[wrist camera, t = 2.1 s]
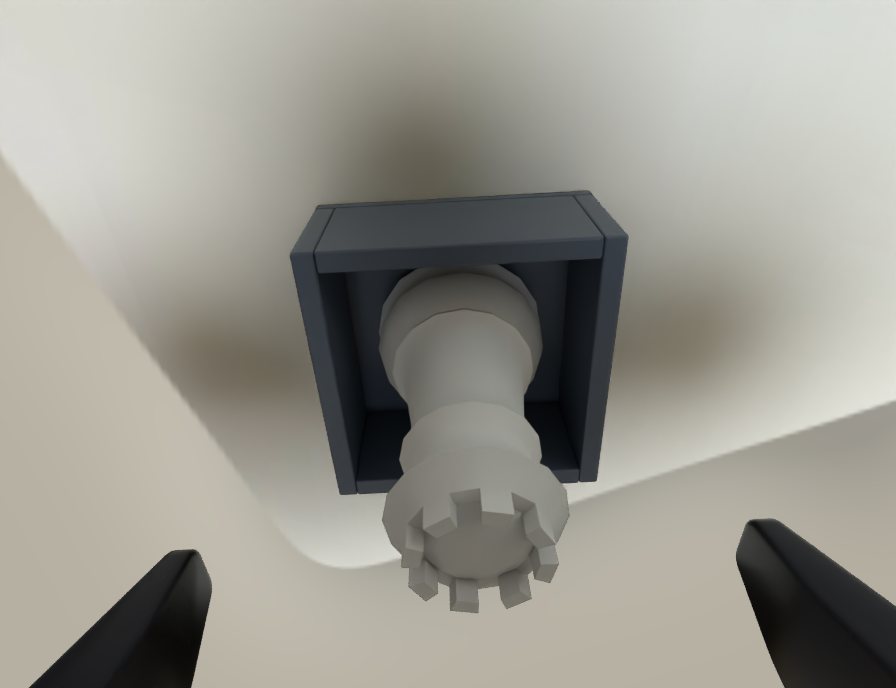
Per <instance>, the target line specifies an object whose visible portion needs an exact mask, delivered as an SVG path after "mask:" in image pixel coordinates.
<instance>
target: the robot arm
mask: <svg viewBox="0 0 896 688" xmlns="http://www.w3.org/2000/svg"><path fill="white" fill-rule="evenodd" d="M736 561H737V565H738V569H739V571H740V574H741V577H742V580H743V582H744V585H745V588H746V591H747V594H748V596H749V599H750V602H751V604H752V607H753V610H754V612H755V616H756V618H757V621H758V624H759V627H760V630H761V632H762V635H763V637H764V641H765V643H766V646H767V649H768V651H769V654H770V656H771V659H772V661H773V664H774V666H775V668H776V670H777V673H778V675H779V677H780V679H781V681H782V683H783V685H784V687H785V688H896V606H895V605H893V604H892V603H891V602H889V601H888V600H886V599H885V598H884V597H882V596H881V595H880V594H878V593H877V592H875V591H874V590H873V589H871V588H870V587H869V586H867V585H866V584H865V583H863V582H862V581H860V580H859V579H858V578H856V577H855V576H854V575H852V574H851V573H849V572H848V571H847V570H845V569H844V568H843V567H841V566H840V565H839V564H837V563H836V562H834V561H833V560H832V559H830V558H829V557H828V556H826V555H825V554H824V553H822V552H821V551H819V550H818V549H817V548H815V547H814V546H813V545H811V544H810V543H809V542H807V541H806V540H804V539H803V538H802V537H800V536H799V535H797V534H796V533H795V532H793V531H792V530H791V529H789V528H788V527H787V526H785V525H784V524H782V523H781V522H780V521H778V520H776V519H770V518H769V519H753V520H750V521H748V522H747V523H746V525H745V528H744V531H743V534H742V537H741V540H740V543H739V545H738V548H737V552H736ZM211 593H212V583H211V579H210V576H209V574H208V572H207V569H206V567H205V565H204V562H203V560H202V558H201V555H200V554H199V552H198V551H196V550H193V549H192V550H175V551H171V552H170V553H168V554H167V555H165V556H164V557H163V558H162V559H161V560H160V561H159V562H158V563H157V564H156V565H155V566H154V567H153V568H152V569H151V570H150V571H149V572H148V573H147V574H146V575H145V576H144V577H143V578H142V579H141V580H140V581H139V582H138V583H136V585H134V586H133V587H132V588H131V589H130V590H129V591H128V592H127V593H126V594H125V595H124V596H123V597H122V598H121V599H120V600H119V601H118V602H117V603H116V604H115V605H114V606H113V607H112V608H111V609H110V610H109V611H108V612H107V613H106V614H105V615H103V616H102V617H101V618H100V619H99V621H97V622H96V623H95V624H94V625H93V626H92V627H91V628H90V629H89V630H88V631H87V632H86V633H85V634H84V635H83V636H82V637H81V638H80V639H79V640H78V641H77V642H76V643H75V644H74V645H73V646H72V647H70V648H69V649H68V650H67V651H66V652H65V653H64V654H63V655H62V656H61V657H60V658H59V659H58V660H57V661H56V662H55V663H54V664H53V665H52V666H51V667H50V668H49V669H48V670H47V671H46V672H45V673H44V674H43V675H42V676H41V677H40V678H38V679H37V680H36V681H35V682H34V683H33V684H32V685H31V686H30V687H29V688H191V686H192V681H193V677H194V673H195V668H196V664H197V659H198V654H199V649H200V645H201V641H202V635H203V631H204V627H205V622H206V617H207V613H208V608H209V603H210V599H211Z"/></svg>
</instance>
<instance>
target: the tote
mask: <svg viewBox="0 0 896 688" xmlns="http://www.w3.org/2000/svg"><path fill="white" fill-rule="evenodd" d="M627 245H628V235H627V234H626V233H625V232H624V230H623V229H622V228H621V227H620V226H619V225H618V224H617V222H616V221H615V220H614V219H613V218H612V217H611V216H610V214H609V213H608V212H607V211H606V210H605V209H604V208H603V206H602V205H601V204H600V203H599V202H598V201H597V200H596V198H595V197H594V196H593V195H592V193H591V192H590V191H578V192H559V193H541V194H522V195H503V196H485V197H466V198H447V199H429V200H410V201H392V202H373V203H354V204H336V205H318V206H317V207H316V210H315V212H314V213H313V215H312V217H311V218H310V220H309V222H308V224H307V225H306V227H305V229H304V230H303V232H302V234H301V236H300V237H299V239H298V241H297V242H296V244H295V246H294V248H293V249H292V251H291V253H290V259H291V264H292V269H293V274H294V278H295V283H296V288H297V293H298V298H299V302H300V307H301V312H302V317H303V321H304V326H305V331H306V336H307V341H308V345H309V350H310V355H311V360H312V364H313V369H314V374H315V379H316V383H317V388H318V393H319V398H320V403H321V407H322V412H323V417H324V422H325V426H326V431H327V436H328V441H329V445H330V450H331V455H332V460H333V465H334V469H335V474H336V479H337V484H338V488H339V493H340V495H349V494H357V492H358V494H371V493H389V491H390V490H391V489H392V488H393V487H394V485H395V484H396V483H397V482H398V481H399V479H400V478H401V477H402V476H403V475H404V472H403V469H402V466H401V463H400V460H399V459H400V454H401V449H402V444H403V439H404V437H405V436H406V435H407V434H408V432H409V431H410V430H411V421H410V415H409V408H408V404H407V402H406V401H405V400H404V399H403V398H402V397H401V396H400V395H399V392H398V391H397V390H396V389H395V388H394V387H393V386H392V384H391V383H390V382H389V379H388V377H387V374H386V371H385V368H384V364H383V361H382V358H381V355H380V352H379V344H380V335H379V328H380V321H381V315H382V308H383V304H384V303H385V301H386V300H387V298H388V297H389V295H390V294H391V292H392V291H393V289H394V288H395V286H396V285H397V283H398V282H399V280H401V279H402V278H404V277H405V276H407V275H408V274H410V273H411V272H413V271H414V270H416V269H418V268H433V267H452V266H471V265H489V264H498V265H500V266H501V267H503V268H505V269H506V270H508V271H509V272H511V273H513V274H514V275H516V276H517V277H519V278H520V279H521V280H522V282H523V283H524V285H525V286H526V288H527V289H528V291H529V292H530V294H531V295H532V297H533V298H534V300H535V301H536V304H537V311H538V318H539V320H540V328H541V335H542V343H543V349H542V354H541V357H540V360H539V363H538V366H537V369H536V372H535V375H534V378H533V380H532V382H531V383H530V384H529V385H528V388H527V391H526V393H525V394H524V418H525V419H526V420H527V421H528V423H529V424H530V425H531V427H532V428H533V429H534V430H535V432H536V433H537V434H538V436H539V441H540V448H541V454H542V458H541V460H540V464H542V465H544V466H546V467H548V468H549V469H550V471H551V472H552V473H553V474H554V476H555V477H556V478H557V479H558V481H559V482H560V483H577V482H578V481H579V482H595V481H597V474H598V467H599V459H600V451H601V444H602V436H603V428H604V421H605V413H606V405H607V398H608V390H609V382H610V375H611V367H612V359H613V352H614V344H615V336H616V329H617V321H618V313H619V306H620V298H621V290H622V283H623V275H624V268H625V260H626V252H627Z"/></svg>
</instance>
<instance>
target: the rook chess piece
mask: <svg viewBox="0 0 896 688" xmlns="http://www.w3.org/2000/svg"><path fill="white" fill-rule="evenodd" d="M379 335H380V344H379V352H380V355H381V358H382V361H383V364H384V368H385V371H386V374H387V377H388V379H389V382H390V383H391V384H392V386H393V387H394V388H395V389H396V390H397V391H398V392H399V395H400V396H401V397H402V398H403V399H404V400H405V401H406V402H407V404H408V408H409V415H410V421H411V430H410V431H409V432H408V434H407V435H406V436H405V437H404V439H403V444H402V449H401V454H400V459H399V460H400V463H401V466H402V469H403V472H404V475H403V476H402V477H401V478H400V479H399V481H398V482H397V483H396V484H395V485H394V487H393V488H392V489H391V490H390V491H389V493H388V494H387V497H386V502H385V507H384V512H383V518H382V522H383V524H384V527H385V529H386V532H387V534H388V537H389V540H390V542H391V544H392V545H393V546H394V547H395V548H396V549H397V550H398V551H399V552H400V554H401V555H402V563H401V567H402V568H409V588H411V589H412V590H413V591H414V592H415V593H416V594H418V595H419V596H420V597H421V598H422V599H423V600H425V601H427V600H429V599H430V598H432V597H433V596H435V595H436V594H438V582H439V583H441V584H444V585H447V586H449V587H450V611H459V612H470V613H478V607H479V600H478V589H482V588H488V587H495V586H499V588H500V596H501V600H502V602H503V604H504V606H505V607H506V609H508V608H511V607H513V606H515V605H518V604H520V603H523V602H525V601H527V600H530V599H532V598H531V592H530V586H529V580H528V574H529V573H530V572H531V571H533V574H534V579H536V580H540V581H544V582H548V583H550V582H551V580H552V578H553V575H554V573H555V571H556V569H557V566H558V565H559V562H558V558H557V554H556V549H555V545H556V543H557V542H558V540H559V538H560V536H561V534H562V531H563V529H564V527H565V525H566V523H567V520H568V518H569V508H568V500H567V493H566V489H565V488H564V487H563V486H562V484H561V483H560V482H559V481H558V479H557V478H556V477H555V476H554V474H553V473H552V472H551V471H550V469H549V468H548V467H546V466H544V465H542V464H540V460H541V458H542V454H541V448H540V441H539V436H538V434H537V433H536V432H535V430H534V429H533V428H532V427H531V425H530V424H529V423H528V421H527V420H526V419H525V418H524V394H525V393H526V391H527V388H528V385H529V384H530V383H531V382H532V380H533V378H534V375H535V372H536V369H537V366H538V363H539V360H540V357H541V354H542V349H543V343H542V335H541V328H540V320H539V318H538V311H537V304H536V301H535V300H534V298H533V297H532V295H531V294H530V292H529V291H528V289H527V288H526V286H525V285H524V283H523V282H522V280H521V279H520V278H519V277H517V276H516V275H514V274H513V273H511V272H509V271H508V270H506V269H505V268H503V267H501V266H500V265H498V264H489V265H471V266H452V267H433V268H418V269H416V270H414V271H413V272H411V273H410V274H408V275H407V276H405V277H404V278H402V279H401V280H399V282H398V283H397V285H396V286H395V288H394V289H393V291H392V292H391V294H390V295H389V297H388V298H387V300H386V301H385V303H384V304H383V308H382V315H381V321H380V328H379Z"/></svg>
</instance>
